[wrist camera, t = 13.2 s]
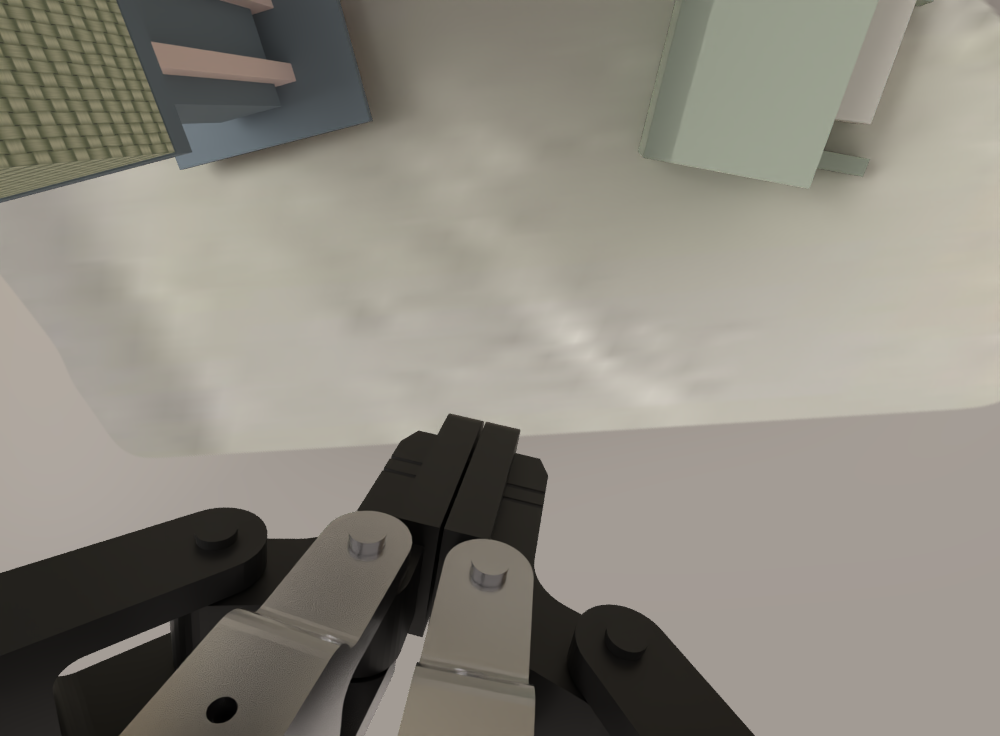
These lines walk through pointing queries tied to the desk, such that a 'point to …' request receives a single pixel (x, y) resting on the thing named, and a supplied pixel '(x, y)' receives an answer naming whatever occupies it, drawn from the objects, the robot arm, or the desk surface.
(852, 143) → the desk surface
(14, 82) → the desk lamp
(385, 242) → the desk surface
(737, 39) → the shelf
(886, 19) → the cover plate
